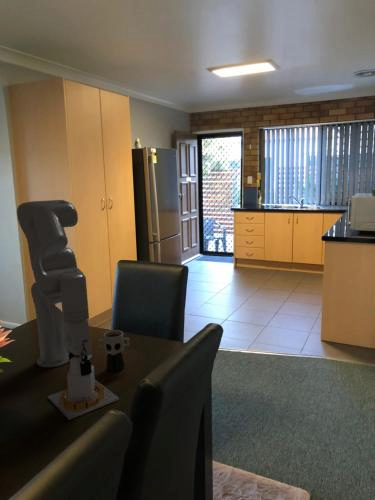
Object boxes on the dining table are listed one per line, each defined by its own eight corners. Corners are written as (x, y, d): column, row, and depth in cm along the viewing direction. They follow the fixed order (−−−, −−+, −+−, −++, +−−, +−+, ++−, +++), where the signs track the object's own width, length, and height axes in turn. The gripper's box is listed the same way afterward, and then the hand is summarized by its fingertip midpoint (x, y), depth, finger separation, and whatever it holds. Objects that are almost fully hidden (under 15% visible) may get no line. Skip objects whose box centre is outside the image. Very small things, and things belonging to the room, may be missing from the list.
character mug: (98, 373, 144) (96, 338, 142) (101, 364, 151) (99, 331, 149) (130, 371, 145) (128, 336, 143) (131, 363, 152) (129, 329, 150)
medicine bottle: (72, 387, 131) (69, 351, 129) (95, 385, 131) (92, 350, 129) (67, 399, 124) (65, 361, 122) (92, 397, 124) (89, 359, 122)
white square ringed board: (48, 398, 129) (47, 392, 129) (95, 381, 139) (94, 375, 138) (68, 420, 117) (68, 413, 116) (118, 399, 126) (118, 393, 126)
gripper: (52, 310, 128) (57, 364, 131) (76, 324, 114) (81, 384, 117) (75, 305, 132) (79, 357, 135) (100, 318, 119) (105, 375, 122)
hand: (80, 369), depth 126 cm, fingers closed on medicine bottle, 7 cm apart
